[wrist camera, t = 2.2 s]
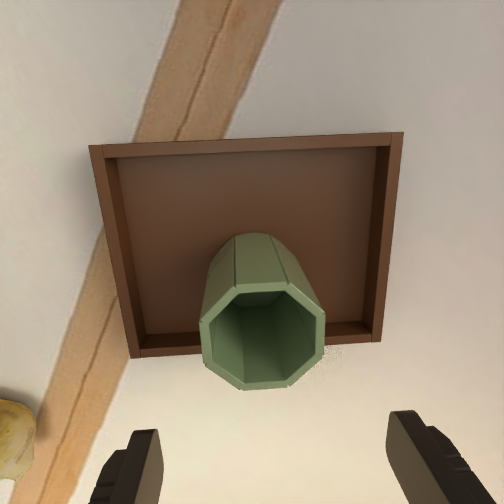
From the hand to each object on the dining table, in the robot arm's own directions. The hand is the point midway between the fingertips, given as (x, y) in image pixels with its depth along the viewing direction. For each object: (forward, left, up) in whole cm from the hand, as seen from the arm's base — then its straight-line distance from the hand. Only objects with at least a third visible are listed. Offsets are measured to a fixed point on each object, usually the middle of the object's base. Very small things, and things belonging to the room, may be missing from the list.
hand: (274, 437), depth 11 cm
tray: (0, -2, -15) cm, 15 cm away
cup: (0, 0, -15) cm, 15 cm away
